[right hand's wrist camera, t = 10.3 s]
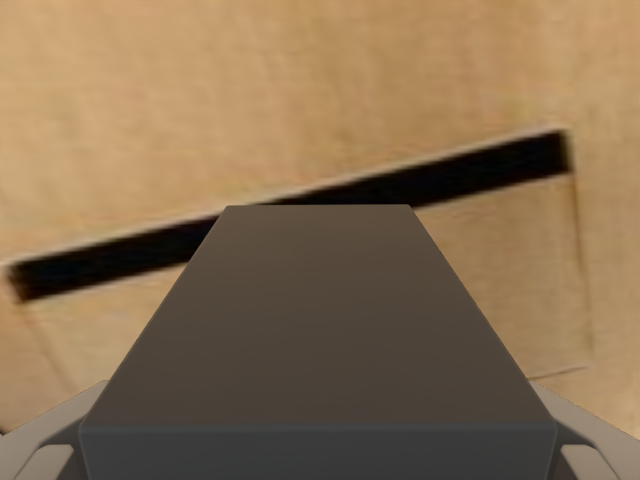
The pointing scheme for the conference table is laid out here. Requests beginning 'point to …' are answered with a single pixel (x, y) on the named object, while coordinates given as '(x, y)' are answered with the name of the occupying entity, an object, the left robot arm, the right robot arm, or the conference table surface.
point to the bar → (318, 363)
